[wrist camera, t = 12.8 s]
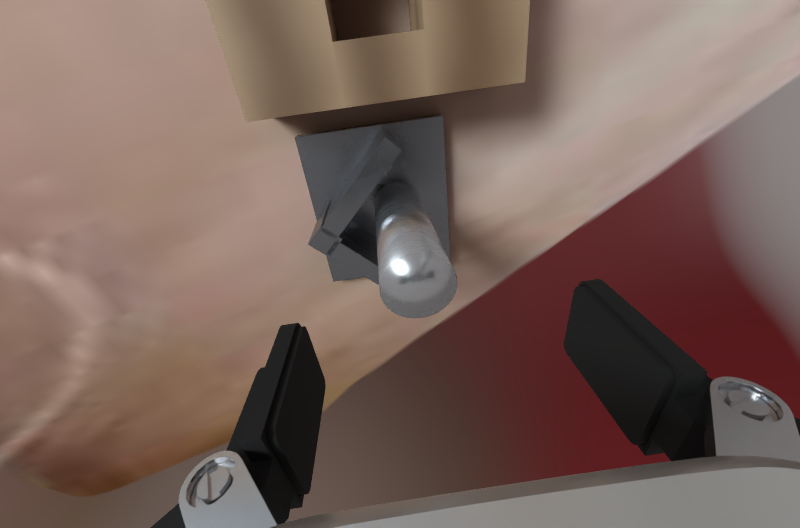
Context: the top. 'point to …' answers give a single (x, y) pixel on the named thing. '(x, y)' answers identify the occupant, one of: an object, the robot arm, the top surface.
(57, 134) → the top surface
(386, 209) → the axle
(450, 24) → the wooden block with hole
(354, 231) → the v block
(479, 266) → the top surface
